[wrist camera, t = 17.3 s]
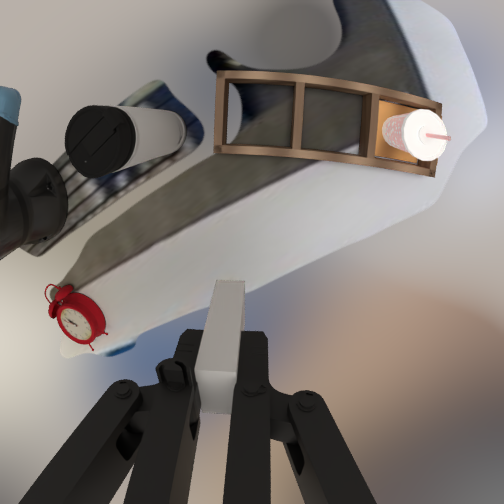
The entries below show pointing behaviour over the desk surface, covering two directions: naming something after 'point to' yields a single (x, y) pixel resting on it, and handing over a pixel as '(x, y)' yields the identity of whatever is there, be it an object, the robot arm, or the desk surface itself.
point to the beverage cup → (417, 134)
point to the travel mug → (120, 137)
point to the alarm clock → (77, 315)
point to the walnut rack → (370, 122)
